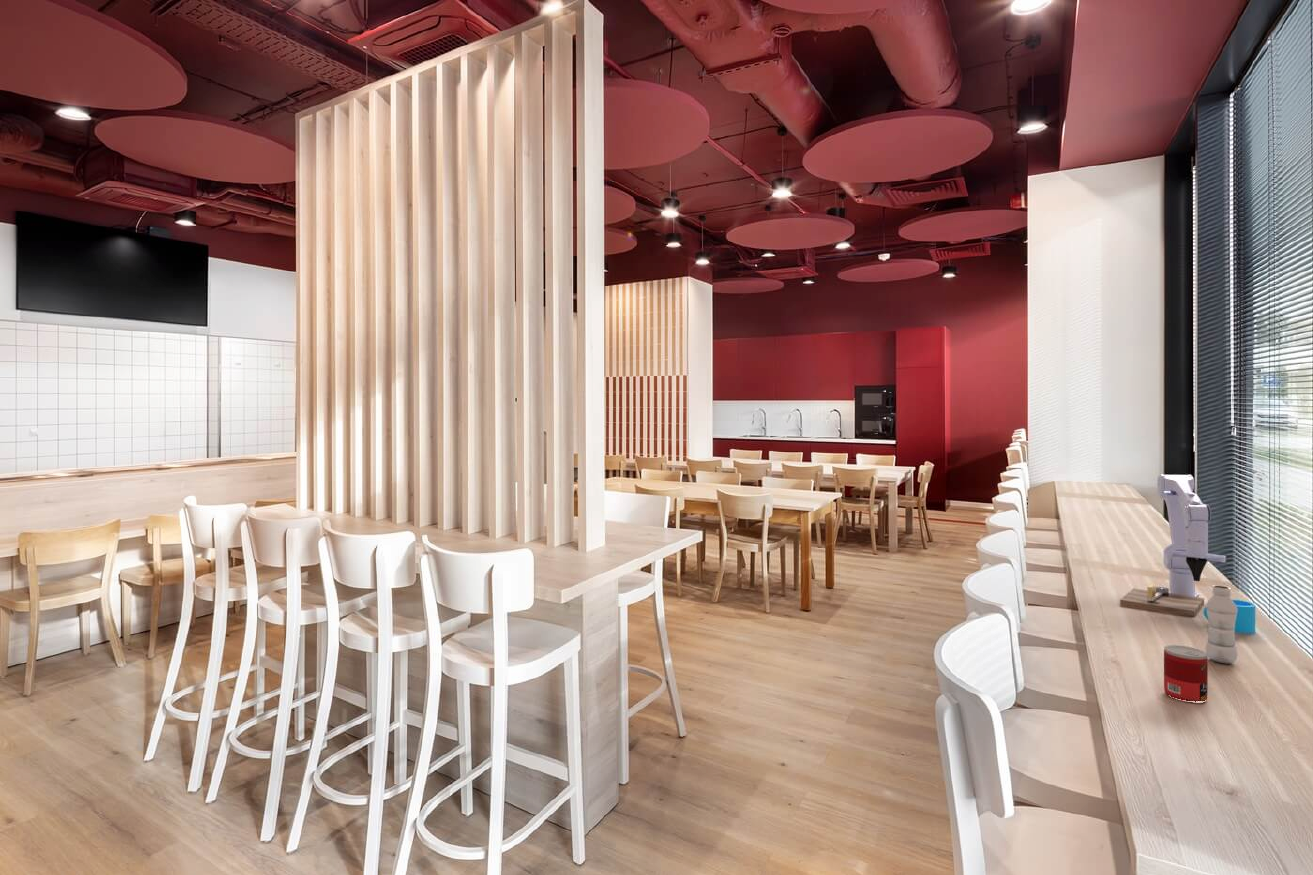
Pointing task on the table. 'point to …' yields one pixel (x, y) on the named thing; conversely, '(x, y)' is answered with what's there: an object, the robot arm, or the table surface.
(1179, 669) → the canned food
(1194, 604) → the hole plate
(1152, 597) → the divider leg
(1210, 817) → the table surface
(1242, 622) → the mug
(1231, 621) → the plastic bottle
